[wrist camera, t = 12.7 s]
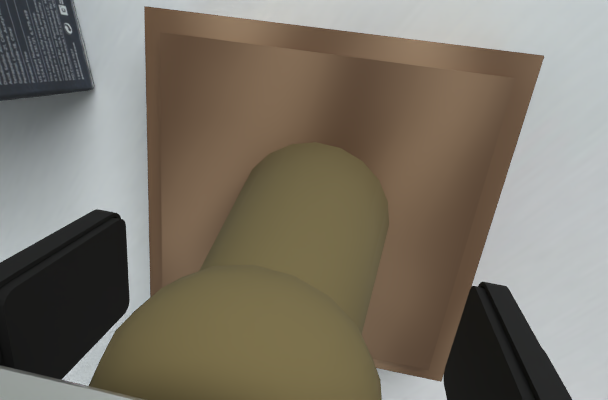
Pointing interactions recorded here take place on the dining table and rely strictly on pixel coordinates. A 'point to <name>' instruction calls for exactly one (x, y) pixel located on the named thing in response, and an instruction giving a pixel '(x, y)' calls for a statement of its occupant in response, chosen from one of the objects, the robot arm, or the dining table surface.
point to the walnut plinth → (343, 134)
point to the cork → (268, 294)
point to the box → (41, 49)
